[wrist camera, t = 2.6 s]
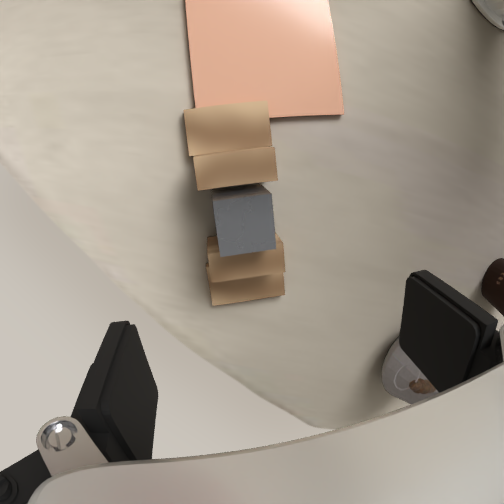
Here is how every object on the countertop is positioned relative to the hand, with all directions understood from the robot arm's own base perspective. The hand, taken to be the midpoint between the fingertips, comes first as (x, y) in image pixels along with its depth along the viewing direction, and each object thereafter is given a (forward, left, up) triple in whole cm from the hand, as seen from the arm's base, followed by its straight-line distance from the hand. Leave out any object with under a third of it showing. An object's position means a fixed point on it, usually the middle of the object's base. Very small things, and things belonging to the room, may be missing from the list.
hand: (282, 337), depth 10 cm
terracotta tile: (-14, +4, -20) cm, 25 cm away
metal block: (0, 0, -20) cm, 20 cm away
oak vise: (0, 0, -20) cm, 20 cm away
